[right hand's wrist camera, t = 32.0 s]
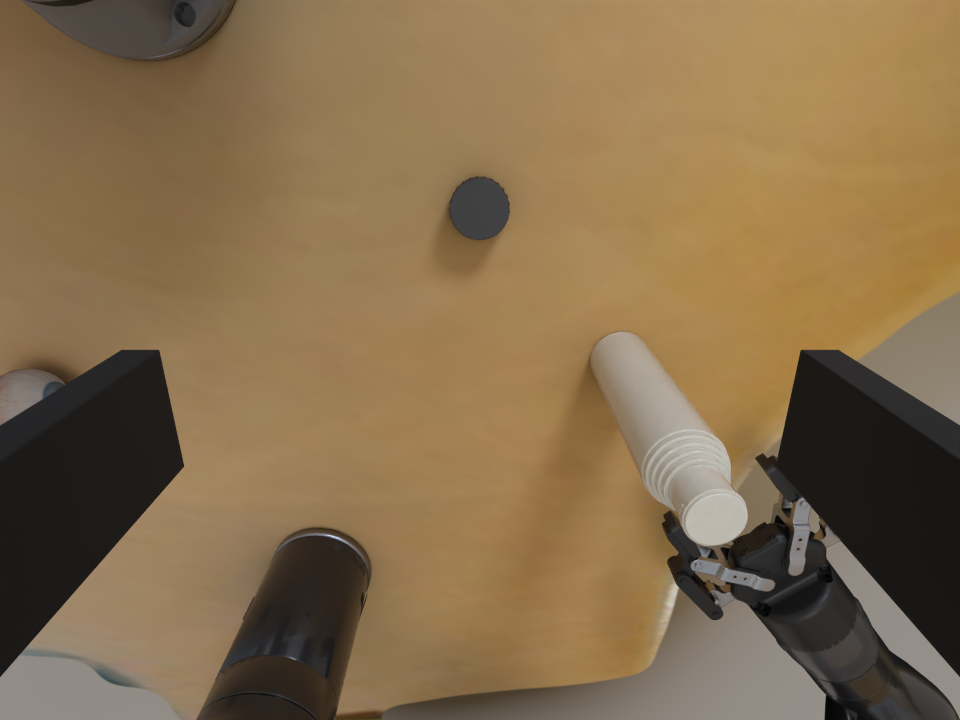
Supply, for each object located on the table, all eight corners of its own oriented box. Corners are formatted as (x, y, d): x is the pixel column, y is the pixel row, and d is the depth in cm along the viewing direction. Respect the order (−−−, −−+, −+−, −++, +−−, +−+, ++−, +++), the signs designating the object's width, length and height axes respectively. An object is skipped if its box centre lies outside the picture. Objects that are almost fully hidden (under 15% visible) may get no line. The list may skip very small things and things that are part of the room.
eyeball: (105, 412, 50) (59, 448, 45) (39, 428, 51) (-15, 465, 45) (71, 349, 48) (17, 378, 43) (2, 367, 49) (-59, 397, 43)
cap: (438, 208, 44) (436, 212, 42) (477, 163, 43) (477, 164, 41) (481, 247, 45) (481, 252, 43) (520, 204, 44) (522, 207, 42)
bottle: (597, 327, 48) (682, 471, 28) (656, 336, 48) (782, 485, 28) (583, 381, 50) (654, 554, 30) (640, 390, 50) (748, 566, 30)
